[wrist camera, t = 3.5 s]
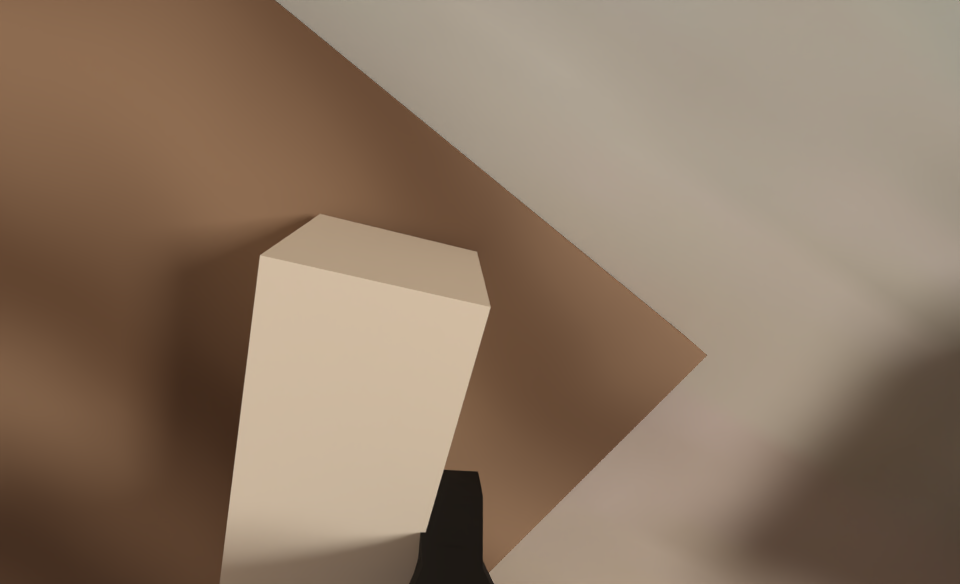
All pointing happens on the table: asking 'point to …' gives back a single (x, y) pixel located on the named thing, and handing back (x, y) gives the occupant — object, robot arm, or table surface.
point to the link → (349, 403)
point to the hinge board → (249, 281)
